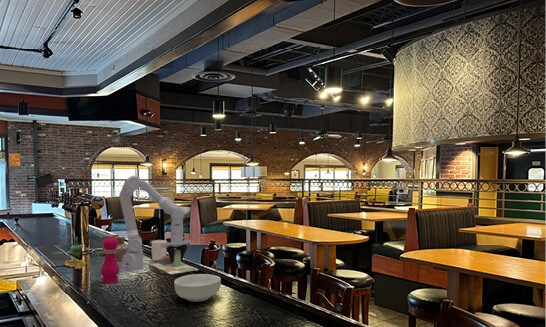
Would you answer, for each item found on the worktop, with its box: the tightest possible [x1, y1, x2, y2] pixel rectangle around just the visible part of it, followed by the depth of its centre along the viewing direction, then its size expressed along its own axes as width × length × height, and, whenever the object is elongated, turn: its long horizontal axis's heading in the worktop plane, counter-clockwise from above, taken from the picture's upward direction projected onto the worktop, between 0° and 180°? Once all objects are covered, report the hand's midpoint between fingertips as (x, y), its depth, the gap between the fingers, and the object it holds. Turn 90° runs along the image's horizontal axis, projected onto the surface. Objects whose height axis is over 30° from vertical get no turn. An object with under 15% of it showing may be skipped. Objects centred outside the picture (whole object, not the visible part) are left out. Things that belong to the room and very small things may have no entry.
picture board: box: [150, 259, 199, 275], centre depth 195 cm, size 24×14×3 cm, turn 38°
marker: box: [172, 248, 182, 267], centre depth 197 cm, size 4×4×8 cm
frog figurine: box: [64, 236, 87, 270], centre depth 200 cm, size 10×18×15 cm, turn 35°
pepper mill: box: [100, 233, 120, 284], centre depth 172 cm, size 7×7×20 cm
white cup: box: [150, 239, 168, 261], centre depth 212 cm, size 8×8×10 cm
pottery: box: [101, 234, 128, 262], centre depth 219 cm, size 11×25×12 cm, turn 35°
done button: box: [163, 255, 170, 261], centre depth 202 cm, size 4×4×2 cm
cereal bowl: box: [173, 273, 222, 303], centre depth 151 cm, size 17×17×7 cm
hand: (176, 261), depth 197 cm, fingers closed on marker, 4 cm apart
